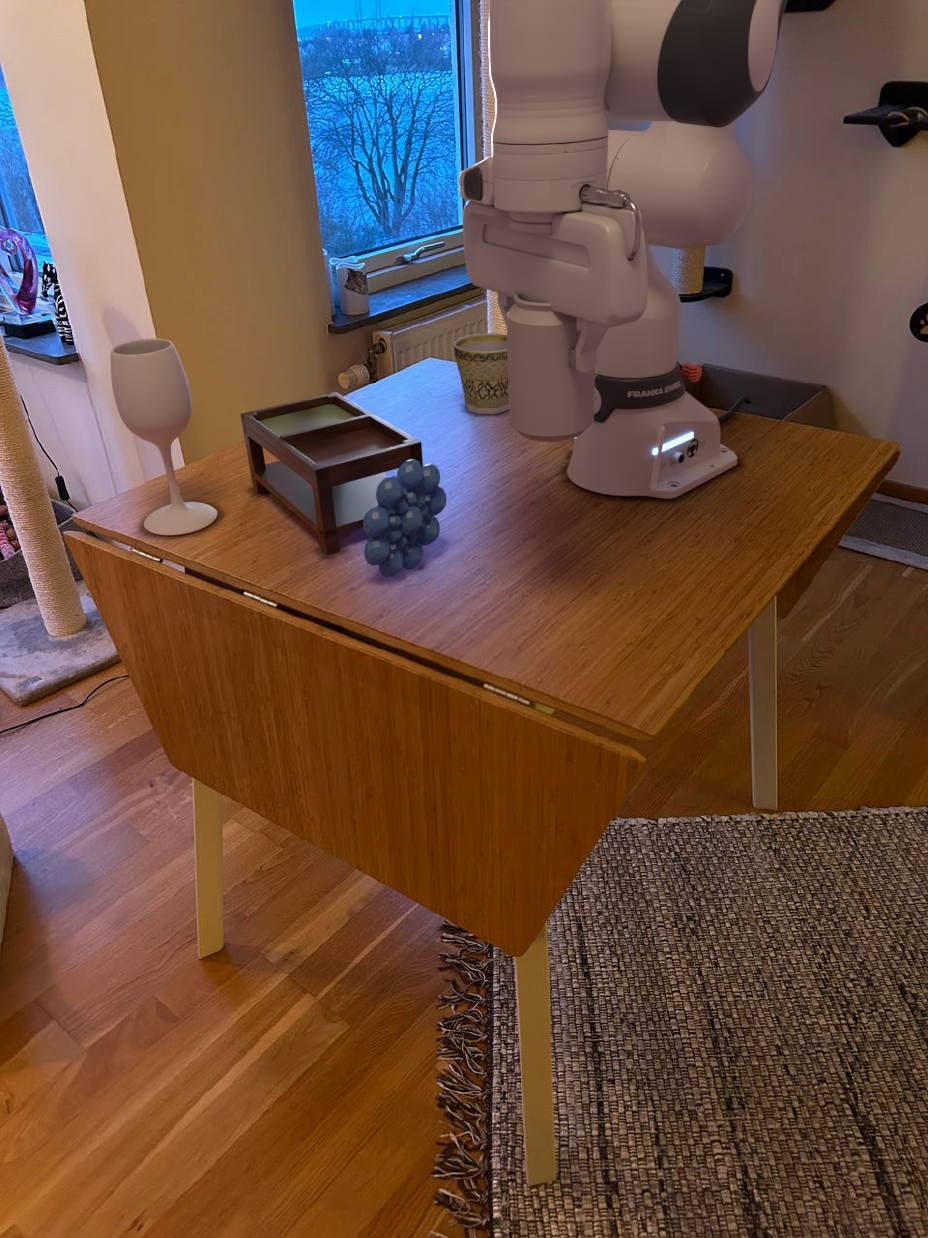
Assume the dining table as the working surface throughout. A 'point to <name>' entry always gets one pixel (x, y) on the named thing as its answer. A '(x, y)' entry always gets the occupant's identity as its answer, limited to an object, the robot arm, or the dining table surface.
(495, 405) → the ceramic cup
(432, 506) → the grapes
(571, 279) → the robot arm
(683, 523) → the dining table surface
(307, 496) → the tray
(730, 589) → the dining table surface
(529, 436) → the can
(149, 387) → the wineglass
